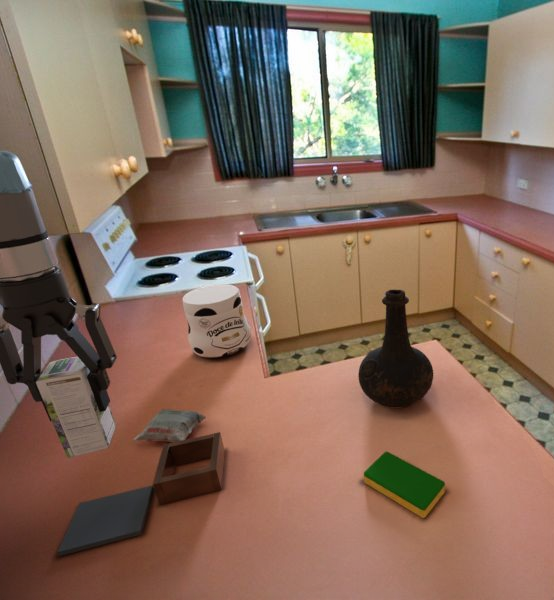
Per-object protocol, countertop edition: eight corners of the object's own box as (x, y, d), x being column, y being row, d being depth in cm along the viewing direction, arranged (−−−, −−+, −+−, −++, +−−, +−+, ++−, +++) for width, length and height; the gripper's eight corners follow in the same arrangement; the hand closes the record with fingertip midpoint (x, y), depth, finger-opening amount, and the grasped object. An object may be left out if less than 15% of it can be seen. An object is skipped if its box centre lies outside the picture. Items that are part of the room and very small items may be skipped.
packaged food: (186, 451, 89) (180, 432, 87) (135, 447, 91) (128, 428, 89) (208, 424, 97) (204, 406, 95) (161, 420, 99) (155, 403, 97)
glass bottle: (349, 388, 109) (340, 286, 97) (411, 368, 116) (409, 272, 105) (379, 429, 94) (372, 315, 83) (447, 404, 101) (449, 297, 90)
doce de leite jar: (235, 365, 120) (222, 307, 113) (179, 361, 123) (164, 305, 115) (262, 336, 136) (253, 283, 128) (213, 333, 138) (201, 281, 131)
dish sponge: (424, 519, 73) (424, 509, 72) (363, 482, 81) (362, 472, 80) (445, 491, 78) (445, 482, 77) (386, 459, 86) (386, 450, 85)
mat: (59, 556, 69) (56, 552, 68) (81, 506, 77) (79, 502, 77) (142, 534, 72) (140, 530, 71) (154, 489, 81) (152, 485, 80)
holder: (159, 504, 77) (152, 484, 75) (169, 463, 86) (163, 444, 84) (221, 489, 80) (216, 469, 78) (224, 450, 89) (220, 432, 87)
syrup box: (78, 435, 71) (46, 361, 65) (118, 426, 73) (91, 353, 67) (67, 459, 66) (31, 381, 60) (111, 448, 68) (80, 372, 62)
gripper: (112, 256, 63) (152, 385, 73) (-44, 272, 58) (20, 409, 67) (96, 272, 57) (143, 412, 66) (-82, 291, 52) (-4, 440, 61)
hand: (81, 410), depth 67 cm, fingers closed on syrup box, 6 cm apart
